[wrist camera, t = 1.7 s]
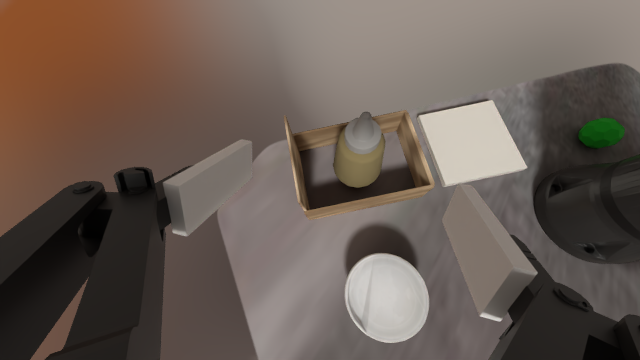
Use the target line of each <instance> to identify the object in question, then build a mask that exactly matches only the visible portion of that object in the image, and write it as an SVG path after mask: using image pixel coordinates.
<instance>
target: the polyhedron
mask: <svg viewBox="0 0 640 360" xmlns="http://www.w3.org/2000/svg"><path fill="white" fill-rule="evenodd" d="M624 132H625V128H624V127H623V126H622V125H620V124H619V123H618V122H617V121H616V120H615V119H611V118H600V119H596V120H593V121H590V122H588V123H586V124H585V125H584V126H583V127H582V128H581V130H580V131H579V139H580V140H581V141H582V142H583V143H584V144H585V145H586V146H588V147H591V148H596V149H597V148H602V147H607V146H611V145H615V144H616V143H617V142H619V141H620V140H621V139H622V137H623V136H624Z"/></svg>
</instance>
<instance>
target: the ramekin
mask: <svg viewBox="0 0 640 360" xmlns="http://www.w3.org/2000/svg"><path fill="white" fill-rule="evenodd" d="M344 294H345V303H346V306H347V310H348V312H349V314H350V316H351V318H352V320H353V321H354V323H355V324H356V325H357V327H358V328H359V329H360V330H361V331H363V332H364V333H365V334H366V335H368V336H369V337H371V338H373V339H376V340H378V341H382V342H387V343H395V342H401V341H404V340H407V339H409V338H411V337H412V336H414V335H415V334H416V333H417V332H418V331H419V330H420V329H421V328H422V326H423V324H424V323H425V321H426V318H427V315H428V310H429V295H428V290H427V287H426V285H425V282H424V280H423V278H422V277H421V275H420V274H419V272H418V271H417V270H416V269H415V268H414V267H413V266H412V265H411V264H410V263H409V262H407V261H406V260H404V259H403V258H401V257H399V256H396V255H393V254H388V253H375V254H371V255H368V256H366V257H364V258H362V259H361V260H359V261H358V262H357V263H356V264H355V265H354V266H353V267H352V269H351V270H350V272H349V274H348V276H347V279H346V283H345V291H344Z"/></svg>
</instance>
